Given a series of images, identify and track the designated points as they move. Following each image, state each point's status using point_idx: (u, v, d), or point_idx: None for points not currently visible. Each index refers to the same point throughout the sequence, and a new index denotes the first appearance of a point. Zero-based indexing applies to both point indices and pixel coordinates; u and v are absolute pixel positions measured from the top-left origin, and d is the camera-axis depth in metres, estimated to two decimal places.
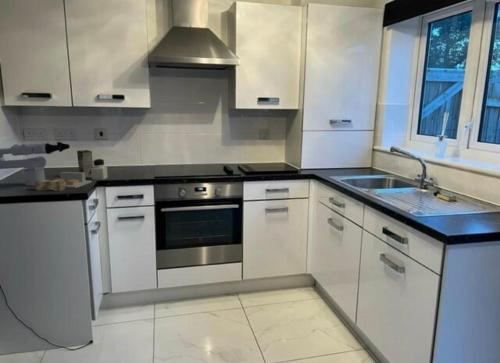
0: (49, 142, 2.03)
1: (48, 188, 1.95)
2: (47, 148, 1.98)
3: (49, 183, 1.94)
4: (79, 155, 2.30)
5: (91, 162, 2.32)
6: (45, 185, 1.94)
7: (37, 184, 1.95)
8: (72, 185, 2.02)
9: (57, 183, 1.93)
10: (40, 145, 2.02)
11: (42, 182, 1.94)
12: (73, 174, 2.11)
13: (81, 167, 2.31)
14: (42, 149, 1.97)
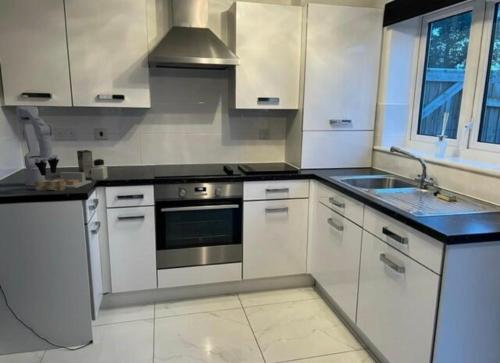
0: (51, 158, 1.93)
1: (48, 188, 1.95)
2: (40, 163, 1.89)
3: (49, 183, 1.94)
4: (79, 155, 2.30)
5: (91, 162, 2.32)
6: (45, 185, 1.94)
7: (37, 184, 1.95)
8: (72, 185, 2.02)
9: (57, 183, 1.93)
10: (46, 150, 1.90)
11: (42, 182, 1.94)
12: (73, 174, 2.11)
13: (81, 167, 2.31)
14: (36, 161, 1.86)
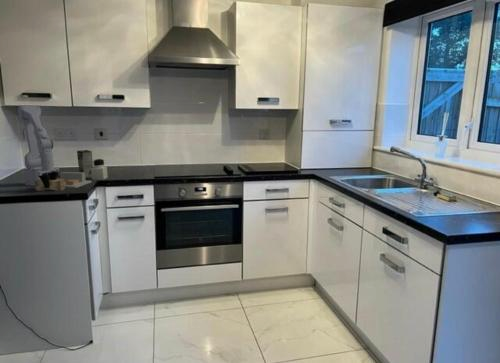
0: (53, 171, 1.94)
1: (48, 188, 1.95)
2: (43, 176, 1.91)
3: (49, 183, 1.94)
4: (79, 155, 2.30)
5: (91, 162, 2.32)
6: None
7: (37, 184, 1.95)
8: (72, 185, 2.02)
9: (58, 182, 1.94)
10: (47, 163, 1.92)
11: (42, 182, 1.94)
12: (73, 174, 2.11)
13: (81, 167, 2.31)
14: (38, 174, 1.88)
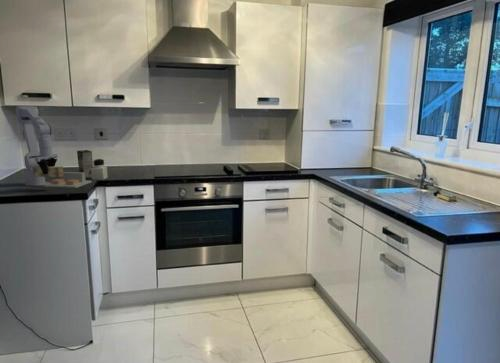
0: (51, 157, 1.92)
1: (47, 174, 1.93)
2: None
3: (48, 169, 1.92)
4: (79, 155, 2.30)
5: (91, 162, 2.32)
6: None
7: (35, 170, 1.93)
8: (72, 185, 2.02)
9: (56, 169, 1.92)
10: (46, 149, 1.90)
11: (40, 168, 1.93)
12: (73, 174, 2.11)
13: (81, 167, 2.31)
14: (36, 160, 1.86)
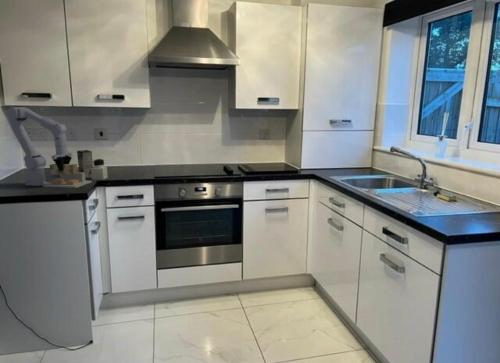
0: (66, 155, 2.03)
1: (62, 171, 2.04)
2: (58, 159, 2.01)
3: (63, 166, 2.03)
4: (79, 155, 2.30)
5: (91, 162, 2.32)
6: None
7: (52, 168, 2.04)
8: (72, 185, 2.02)
9: (71, 166, 2.02)
10: (61, 147, 2.01)
11: (56, 165, 2.03)
12: (73, 174, 2.11)
13: (81, 167, 2.31)
14: (53, 158, 1.97)
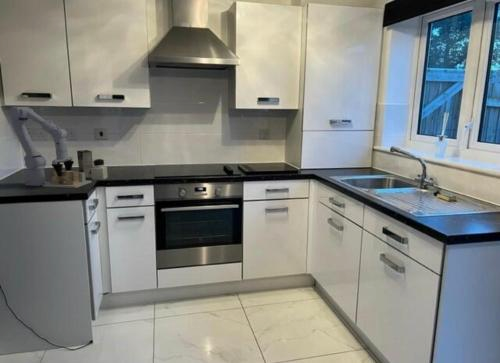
0: (67, 160, 2.03)
1: (63, 178, 2.04)
2: (57, 165, 2.00)
3: (64, 173, 2.04)
4: (79, 155, 2.30)
5: (91, 162, 2.32)
6: None
7: (53, 174, 2.05)
8: (72, 185, 2.02)
9: (71, 173, 2.03)
10: (62, 152, 2.01)
11: None
12: None
13: (81, 167, 2.31)
14: (53, 162, 1.97)
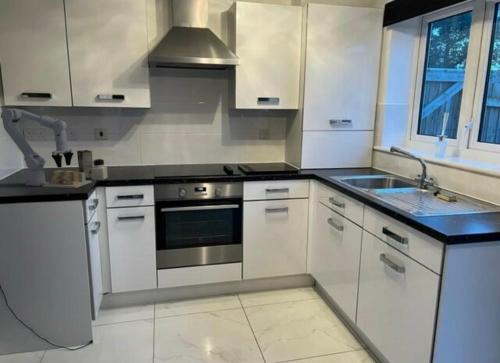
0: (66, 151, 2.07)
1: (63, 178, 2.04)
2: None
3: (64, 173, 2.04)
4: (79, 155, 2.30)
5: (91, 162, 2.32)
6: (60, 175, 2.04)
7: (53, 174, 2.05)
8: (72, 185, 2.02)
9: (71, 173, 2.03)
10: (62, 143, 2.04)
11: (57, 172, 2.04)
12: None
13: (81, 167, 2.31)
14: (53, 153, 2.01)
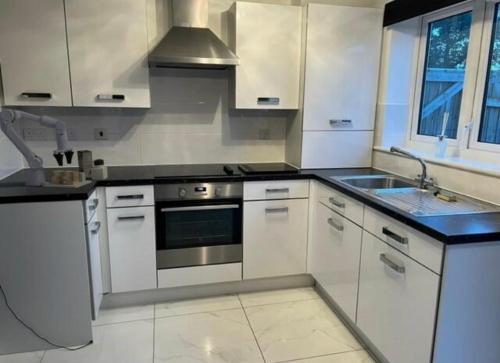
0: (67, 150, 2.11)
1: (63, 178, 2.04)
2: (57, 155, 2.07)
3: (64, 173, 2.04)
4: (79, 155, 2.30)
5: (91, 162, 2.32)
6: (60, 175, 2.04)
7: (53, 174, 2.05)
8: (72, 185, 2.02)
9: (71, 173, 2.03)
10: (63, 142, 2.09)
11: (57, 172, 2.04)
12: None
13: (81, 167, 2.31)
14: (54, 152, 2.05)
